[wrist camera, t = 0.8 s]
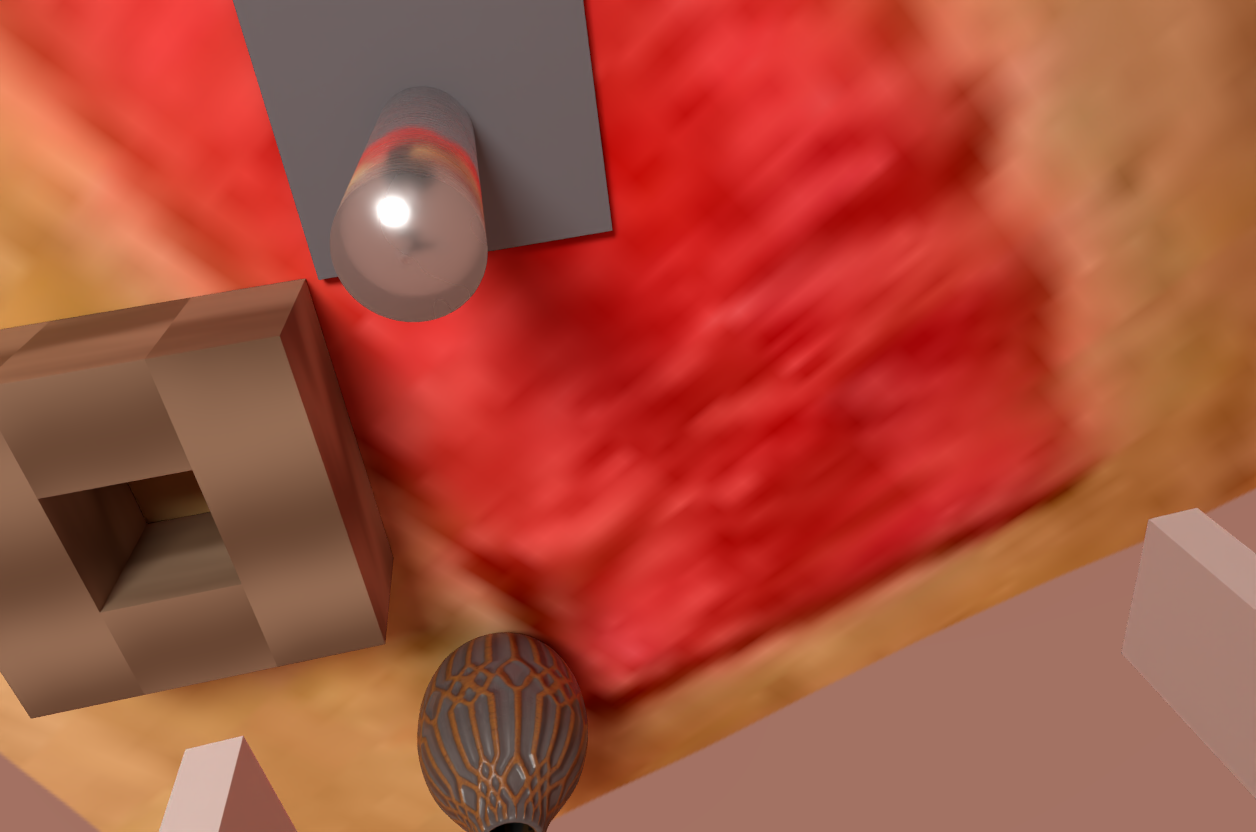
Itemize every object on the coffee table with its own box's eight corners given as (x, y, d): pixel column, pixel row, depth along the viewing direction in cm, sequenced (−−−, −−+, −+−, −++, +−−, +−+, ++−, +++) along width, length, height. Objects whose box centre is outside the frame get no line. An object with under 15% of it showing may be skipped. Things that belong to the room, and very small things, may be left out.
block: (-72, 341, 28) (-168, 413, 24) (305, 278, 29) (279, 335, 25) (84, 620, 34) (31, 718, 29) (393, 558, 35) (384, 644, 31)
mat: (217, -60, 24) (214, -61, 24) (568, -105, 25) (569, -106, 25) (320, 276, 29) (318, 280, 29) (610, 227, 30) (612, 230, 30)
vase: (477, 582, 36) (484, 749, 29) (606, 643, 39) (643, 810, 32) (389, 690, 38) (374, 873, 31) (518, 741, 41) (533, 920, 34)
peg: (366, 93, 26) (310, 186, 16) (463, 79, 27) (470, 160, 16) (390, 190, 28) (353, 333, 18) (482, 176, 28) (500, 308, 18)
